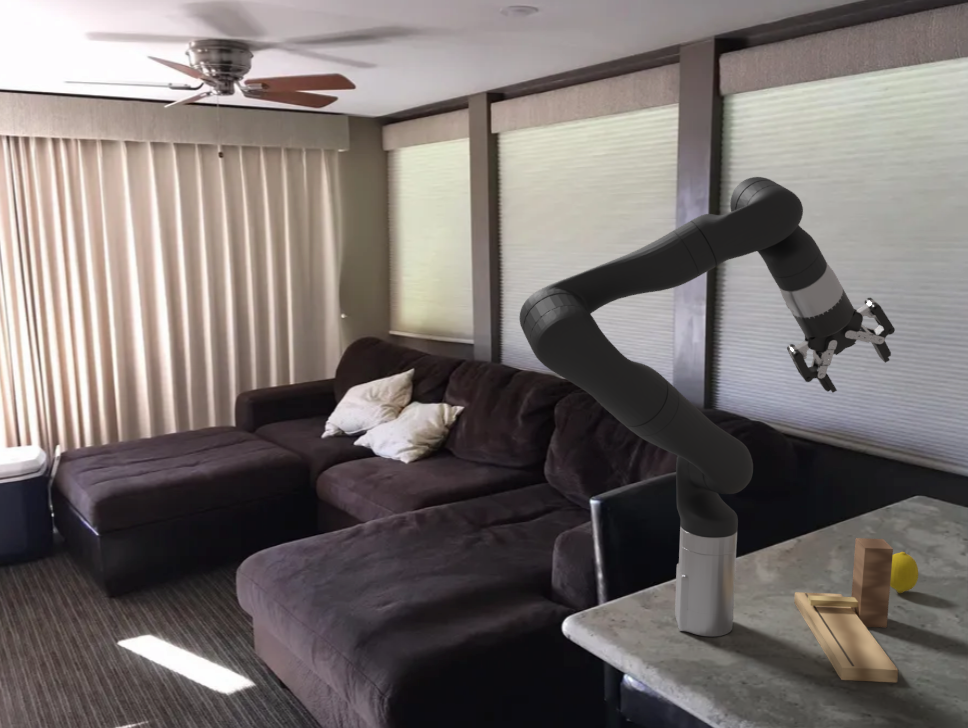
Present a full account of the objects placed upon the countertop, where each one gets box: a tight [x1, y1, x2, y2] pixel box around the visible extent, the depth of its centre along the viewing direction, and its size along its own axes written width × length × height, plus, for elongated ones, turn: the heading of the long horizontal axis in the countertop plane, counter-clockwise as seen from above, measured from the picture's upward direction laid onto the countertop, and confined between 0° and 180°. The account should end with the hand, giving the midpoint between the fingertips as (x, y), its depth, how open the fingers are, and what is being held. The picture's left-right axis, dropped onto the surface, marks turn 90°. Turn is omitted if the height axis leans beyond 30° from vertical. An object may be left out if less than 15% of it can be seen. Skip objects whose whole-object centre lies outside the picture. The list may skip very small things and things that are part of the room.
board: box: [794, 591, 899, 683], centre depth 136 cm, size 8×26×2 cm, turn 174°
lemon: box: [890, 551, 919, 594], centre depth 153 cm, size 6×6×8 cm
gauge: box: [808, 537, 894, 629], centre depth 142 cm, size 12×4×14 cm, turn 84°
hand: (858, 374), depth 125 cm, fingers open, 8 cm apart
